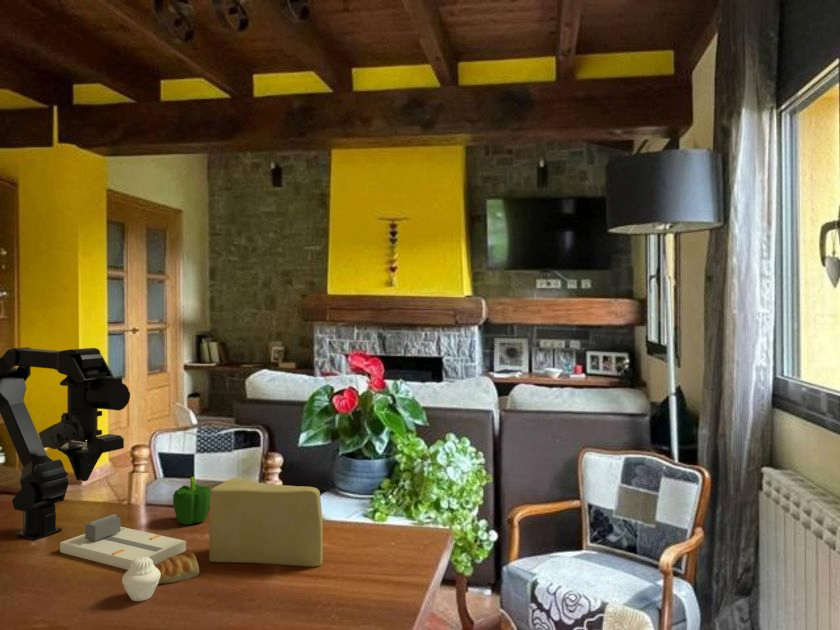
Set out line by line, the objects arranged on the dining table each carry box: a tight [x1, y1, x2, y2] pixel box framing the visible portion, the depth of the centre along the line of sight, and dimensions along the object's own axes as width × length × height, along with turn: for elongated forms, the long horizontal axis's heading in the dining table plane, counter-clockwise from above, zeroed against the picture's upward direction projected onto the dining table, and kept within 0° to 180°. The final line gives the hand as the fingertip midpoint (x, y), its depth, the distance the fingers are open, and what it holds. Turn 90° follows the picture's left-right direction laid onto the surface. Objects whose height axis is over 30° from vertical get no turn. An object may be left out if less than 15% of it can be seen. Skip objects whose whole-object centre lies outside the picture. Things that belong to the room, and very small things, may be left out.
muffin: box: [121, 557, 161, 602], centre depth 110 cm, size 6×6×7 cm
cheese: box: [208, 477, 324, 568], centre depth 127 cm, size 22×10×15 cm, turn 76°
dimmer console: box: [59, 526, 187, 571], centre depth 130 cm, size 22×12×2 cm, turn 65°
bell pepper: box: [172, 476, 211, 526], centre depth 149 cm, size 8×8×10 cm
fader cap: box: [84, 513, 122, 541], centre depth 133 cm, size 3×6×4 cm, turn 155°
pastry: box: [154, 551, 200, 585], centre depth 118 cm, size 9×7×4 cm
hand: (82, 480), depth 135 cm, fingers closed
